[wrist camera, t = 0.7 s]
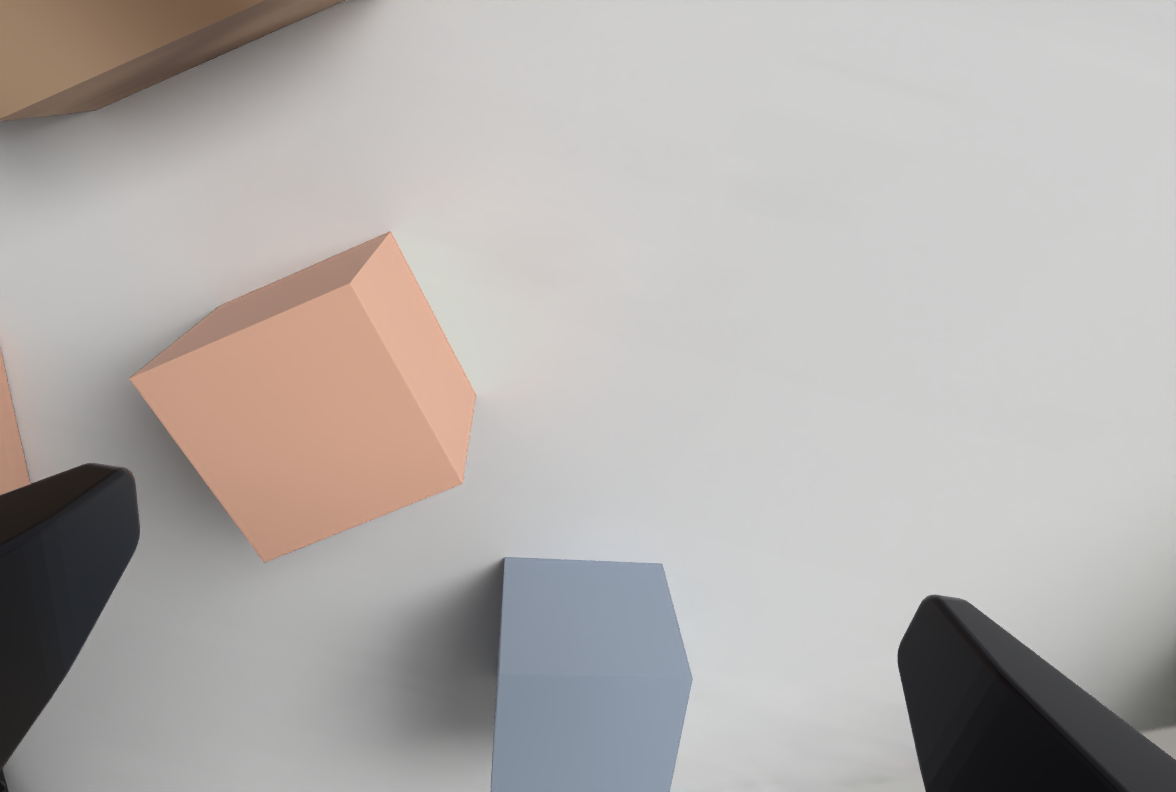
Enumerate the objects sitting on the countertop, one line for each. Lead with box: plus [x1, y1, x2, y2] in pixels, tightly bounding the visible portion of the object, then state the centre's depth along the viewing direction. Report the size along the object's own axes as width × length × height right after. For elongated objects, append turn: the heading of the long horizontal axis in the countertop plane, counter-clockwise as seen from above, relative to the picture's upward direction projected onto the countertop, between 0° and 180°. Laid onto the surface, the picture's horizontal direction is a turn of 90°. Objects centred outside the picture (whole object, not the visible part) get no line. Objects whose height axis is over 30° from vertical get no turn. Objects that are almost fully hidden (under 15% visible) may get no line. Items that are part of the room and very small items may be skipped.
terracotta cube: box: [129, 231, 476, 563], centre depth 18 cm, size 5×5×5 cm
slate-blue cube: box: [491, 557, 693, 792], centre depth 23 cm, size 5×5×5 cm
